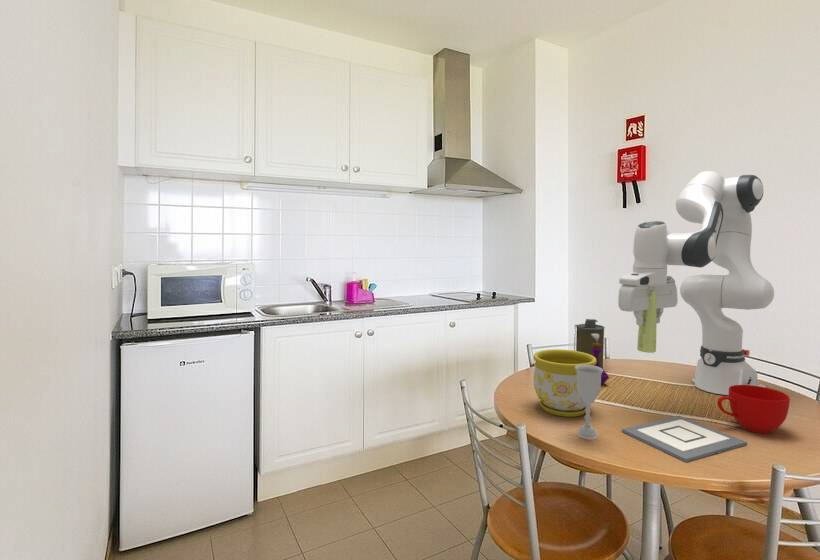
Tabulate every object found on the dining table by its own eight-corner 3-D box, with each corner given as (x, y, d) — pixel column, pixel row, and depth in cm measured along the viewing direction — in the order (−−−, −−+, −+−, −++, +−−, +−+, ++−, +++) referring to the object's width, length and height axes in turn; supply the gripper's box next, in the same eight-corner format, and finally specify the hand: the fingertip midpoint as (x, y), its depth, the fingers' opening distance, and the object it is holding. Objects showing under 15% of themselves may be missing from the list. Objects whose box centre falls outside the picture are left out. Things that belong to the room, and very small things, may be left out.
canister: (600, 366, 180) (602, 317, 178) (605, 373, 170) (607, 322, 168) (572, 365, 182) (573, 317, 181) (575, 372, 172) (576, 321, 171)
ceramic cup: (702, 418, 127) (703, 384, 126) (762, 418, 126) (764, 384, 125) (733, 438, 114) (735, 401, 113) (801, 439, 113) (803, 401, 112)
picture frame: (679, 418, 127) (679, 414, 127) (746, 444, 110) (746, 440, 110) (621, 431, 119) (621, 427, 119) (685, 462, 102) (685, 457, 102)
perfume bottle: (609, 386, 155) (610, 336, 154) (587, 386, 155) (588, 336, 154) (600, 379, 163) (601, 331, 161) (579, 380, 163) (580, 331, 161)
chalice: (568, 430, 120) (570, 365, 119) (592, 428, 121) (594, 364, 119) (581, 442, 113) (582, 373, 111) (606, 440, 113) (608, 372, 112)
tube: (661, 351, 130) (664, 285, 129) (652, 354, 128) (655, 287, 126) (642, 348, 135) (644, 284, 133) (633, 350, 132) (635, 285, 131)
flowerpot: (571, 396, 146) (573, 347, 145) (608, 417, 129) (610, 361, 127) (522, 401, 142) (522, 351, 140) (553, 424, 124) (554, 366, 123)
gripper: (664, 274, 136) (663, 319, 137) (614, 278, 128) (613, 325, 130) (684, 276, 130) (682, 322, 132) (633, 280, 123) (631, 329, 124)
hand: (648, 324), depth 131 cm, fingers closed on tube, 5 cm apart
